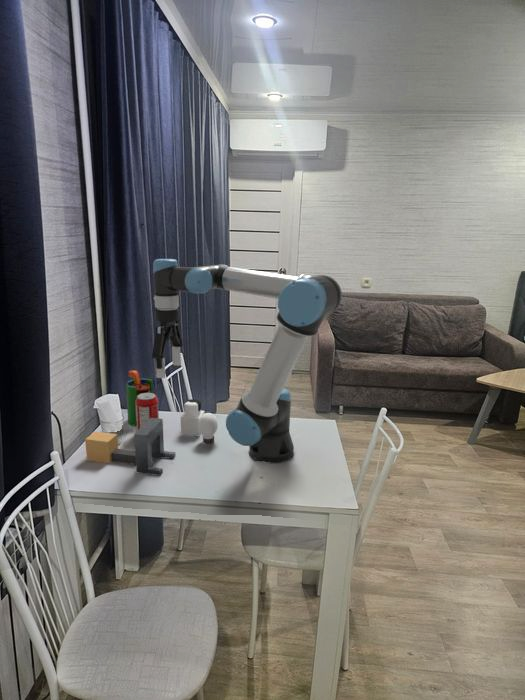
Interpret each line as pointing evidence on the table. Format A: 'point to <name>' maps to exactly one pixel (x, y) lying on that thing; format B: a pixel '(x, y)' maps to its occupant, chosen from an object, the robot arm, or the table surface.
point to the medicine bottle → (191, 417)
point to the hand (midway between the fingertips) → (169, 371)
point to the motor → (135, 394)
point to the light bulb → (208, 427)
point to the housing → (150, 446)
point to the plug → (107, 449)
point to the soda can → (146, 408)
